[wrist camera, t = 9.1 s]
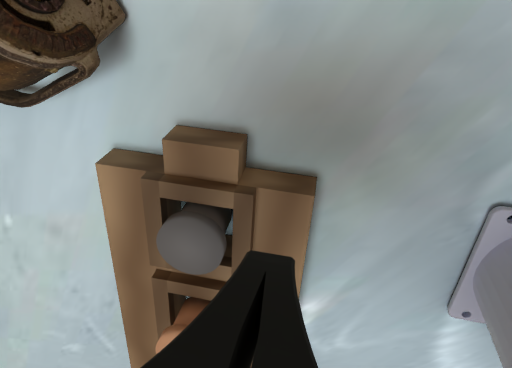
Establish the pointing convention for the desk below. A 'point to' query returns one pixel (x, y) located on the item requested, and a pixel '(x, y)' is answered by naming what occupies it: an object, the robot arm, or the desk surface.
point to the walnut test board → (168, 203)
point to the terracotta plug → (181, 320)
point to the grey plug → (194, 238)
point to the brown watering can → (51, 44)
